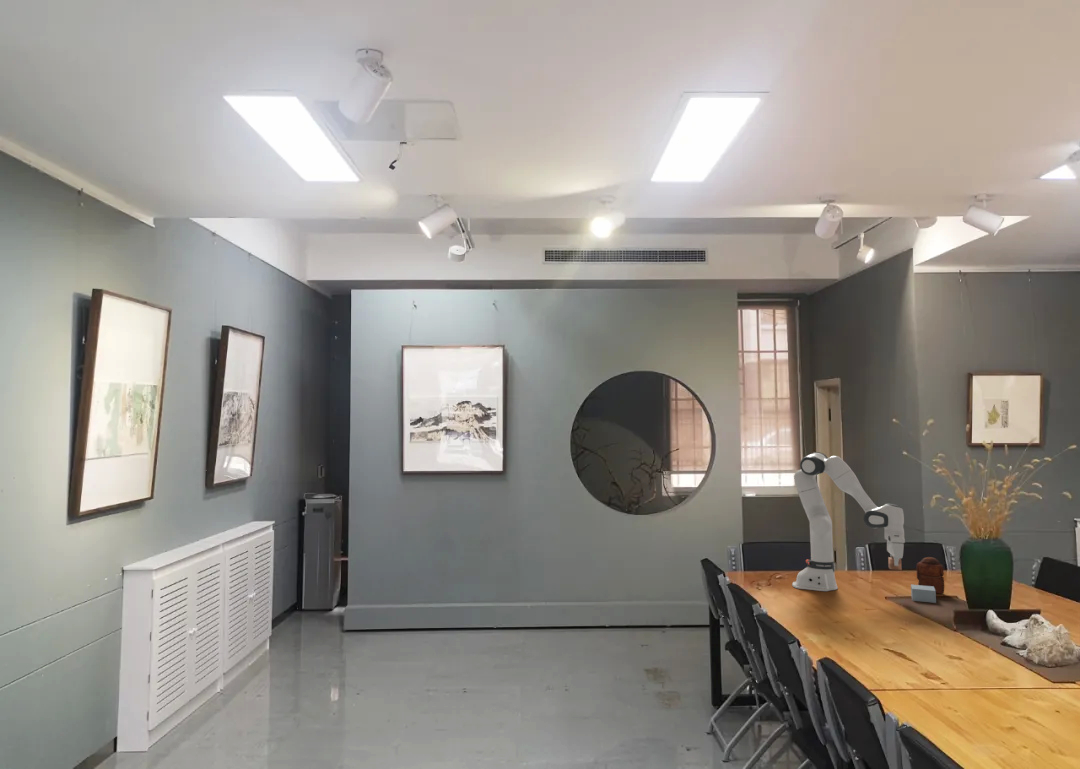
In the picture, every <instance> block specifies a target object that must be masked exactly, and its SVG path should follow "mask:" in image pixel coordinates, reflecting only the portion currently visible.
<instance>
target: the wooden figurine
mask: <svg viewBox="0 0 1080 769" xmlns="http://www.w3.org/2000/svg"><path fill="white" fill-rule="evenodd" d="M944 575H945V573H944V566H943V564H941V563H940V561H939V560H938V559H937V558H935V557H932V556H927V557H923V558H922V559H921V560H920V561H919V562H916V579H917V580H918V583H917V585H922V586H934V588H935V591H936V595H937V594H939V595H943V594H944V593H945V578H944V577H943V576H944Z"/></svg>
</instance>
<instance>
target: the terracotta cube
mask: <svg viewBox="0 0 1080 769" xmlns="http://www.w3.org/2000/svg"><path fill="white" fill-rule="evenodd" d="M887 559H888V561H887V562H888V563H887V566H888V569H889V570H898V571H902V569H903V568H902V558H899V562H898V566H895V565H894V558H893V557H891V556H890V557H889V556H888V557H887Z"/></svg>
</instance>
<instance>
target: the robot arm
mask: <svg viewBox="0 0 1080 769" xmlns="http://www.w3.org/2000/svg"><path fill="white" fill-rule="evenodd" d="M799 467H800V469H799V470H797V471H796V472H795V473H794V474H793V475H794V476H793V479H794V484H795V489H796V490H797V494H798V496H799V499H800V502H801V505H802V508H803V509H804V512H805V514H806V516H807V519H808V522H809V542H810V559H806V560H805V563H806V565H807V566H806V567H805V568H804V569H802V570H800V571H799V572H798V573H797V576H796V581H793V582H792V584H791V586H792V587H793V588H795V589H800V590H808V591H817V592H818V591H819V592H829V591H836V590H838V584H837V580H836V576H835V571H836V567H835V566H836V564H835V561H834V549H833V548H834V545H833V544H834V543H833V542H834V541H833V540H834V539H833V519H832V518H831V515H830V513H829V510H828V508H827V505H826V503H825V500H824V498H823V495H822V493H821V490H820V488H819V487H820V486H819V485H818V481H817V478H816V477H817V475H819V474H820V475H821V474H823V473H824V474H826V475H827V476H829V478H830V479H831V481H832V482H833V483H834V485H836V487H837V488H838V489H839V490H840V491H841V492H844V493H846V494H848V495H850V496H851V497H852V498H853V499H855V501H856V502H857V503H858V504H859V506H860V507H861V508H862V510H863V511H864V515H863V521H864V524H865V525H866V526H868V528H871V529H882V528H883V529H884V531H883V532H884V540H886V552H888V553H889V556H890V557H893V558H894V565H895V566H898V562H899V558H900V559H903V556H904V546H905V545H904V544H905V543H906V538H905V529H904V524H905V514H904V509H903V508H902V507H901V506H900V505H897V504H896V503H895V504H894V503H885V504H884V505H882V506H878V505H877V504H876V503H875V502H874V501H873V500H872V499H871V497H870V496H869V495H868V493H867V492H866V491H865V489H864V488H863V486H862V485H861V483H860V481H859V479H858V477H857V476H856V473H854V471H853V470H852V469H851V467H850V466H849V464H847V462H845V461H844V460H843V458H841V457H840V456H839V455H831V456H829V457H828V455H826V454H824V453H823V452H820V451H817V452H816V451H815V452H812V453H809V454H808V455H806V456H803V458H802V459H801V460H800V464H799Z"/></svg>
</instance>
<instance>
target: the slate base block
mask: <svg viewBox="0 0 1080 769" xmlns="http://www.w3.org/2000/svg"><path fill="white" fill-rule="evenodd" d="M910 591H911V593H910V594H911V601H914V602H925V603H933V604H937V594H936V591H935V588H934V586H922V585H918V584H910Z"/></svg>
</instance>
